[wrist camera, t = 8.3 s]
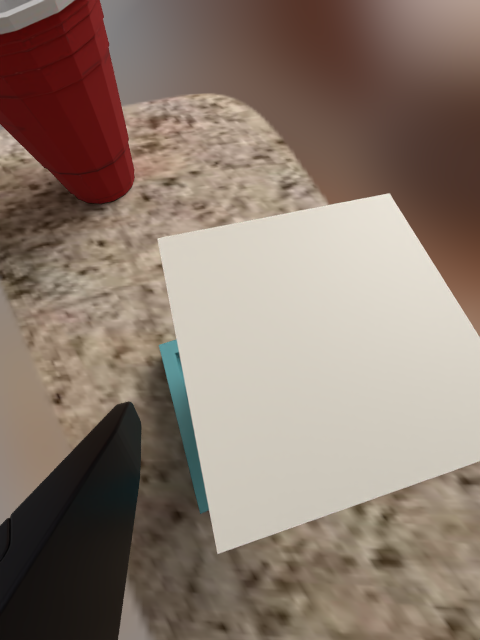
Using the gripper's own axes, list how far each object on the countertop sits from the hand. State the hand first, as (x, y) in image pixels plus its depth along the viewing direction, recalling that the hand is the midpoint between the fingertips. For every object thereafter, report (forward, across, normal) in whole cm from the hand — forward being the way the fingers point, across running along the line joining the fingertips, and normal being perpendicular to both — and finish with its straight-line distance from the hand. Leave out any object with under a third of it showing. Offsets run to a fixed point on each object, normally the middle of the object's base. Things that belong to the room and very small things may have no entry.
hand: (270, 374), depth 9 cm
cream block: (+6, 0, +6) cm, 8 cm away
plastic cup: (+22, +8, -9) cm, 25 cm away
